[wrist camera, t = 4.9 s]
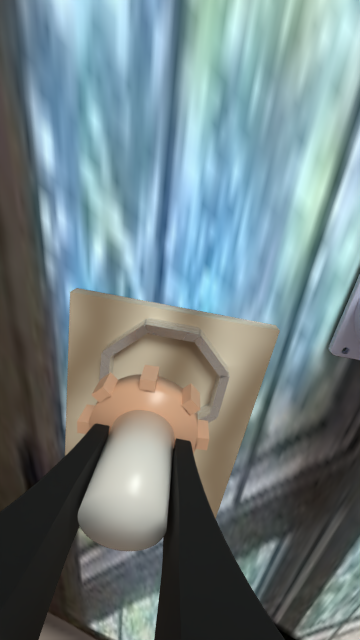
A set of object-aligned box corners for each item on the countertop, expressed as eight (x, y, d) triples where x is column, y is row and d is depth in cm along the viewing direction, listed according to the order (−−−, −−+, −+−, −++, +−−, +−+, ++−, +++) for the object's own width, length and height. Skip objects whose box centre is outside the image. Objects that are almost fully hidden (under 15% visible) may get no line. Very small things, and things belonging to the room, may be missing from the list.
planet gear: (217, 374, 12) (232, 468, 8) (198, 469, 15) (199, 587, 10) (86, 356, 12) (21, 440, 8) (87, 454, 15) (36, 565, 10)
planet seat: (236, 334, 18) (239, 341, 17) (209, 432, 21) (210, 445, 20) (110, 310, 18) (104, 316, 16) (100, 413, 21) (95, 424, 19)
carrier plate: (275, 325, 18) (279, 330, 17) (214, 508, 25) (214, 520, 24) (76, 288, 18) (70, 291, 17) (68, 483, 25) (63, 493, 24)
